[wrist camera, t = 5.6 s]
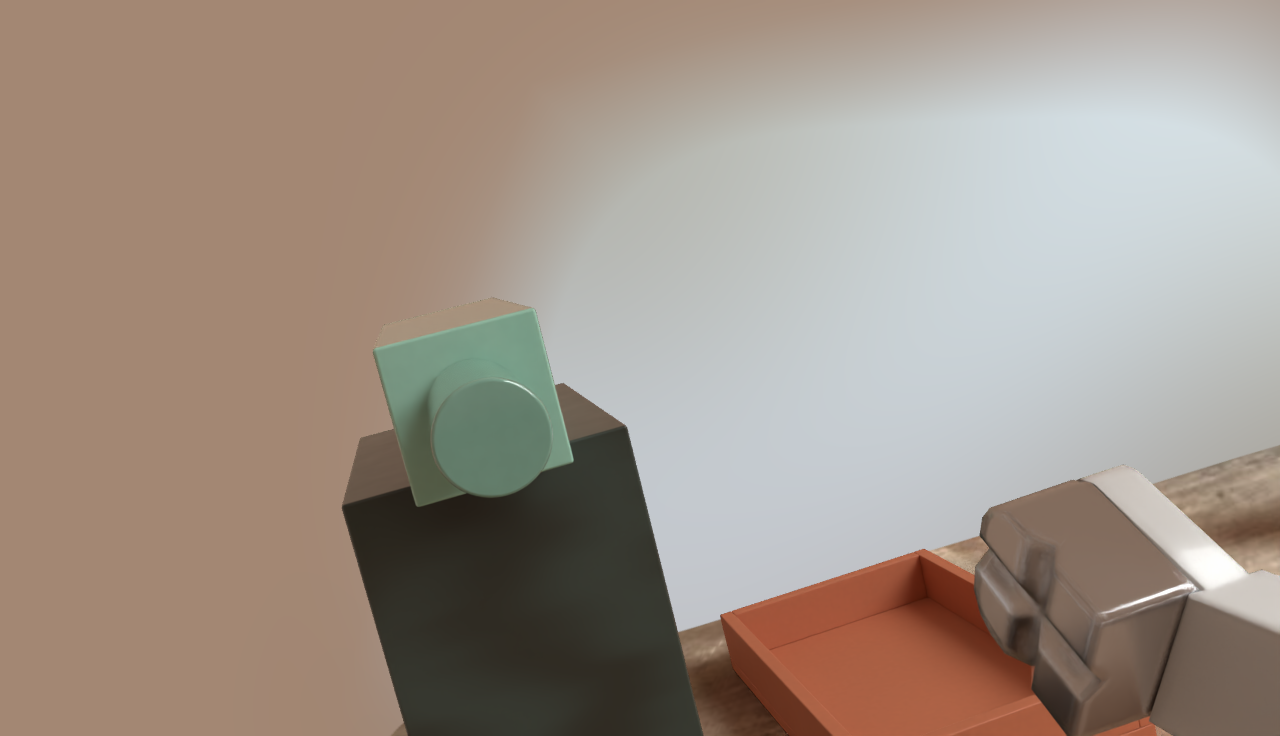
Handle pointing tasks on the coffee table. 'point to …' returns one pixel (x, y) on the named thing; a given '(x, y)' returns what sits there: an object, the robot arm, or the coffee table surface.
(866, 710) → the tray
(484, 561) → the stand
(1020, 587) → the robot arm
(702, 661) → the coffee table surface
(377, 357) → the bottle
